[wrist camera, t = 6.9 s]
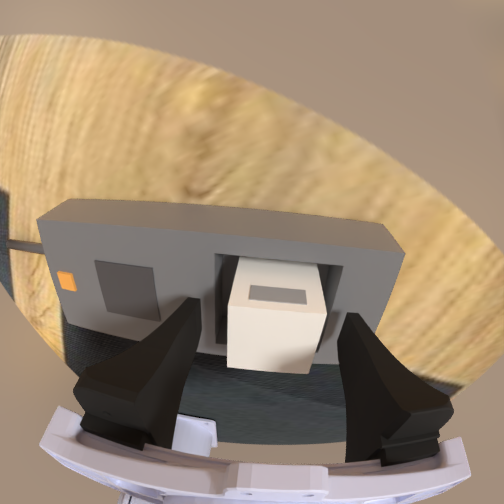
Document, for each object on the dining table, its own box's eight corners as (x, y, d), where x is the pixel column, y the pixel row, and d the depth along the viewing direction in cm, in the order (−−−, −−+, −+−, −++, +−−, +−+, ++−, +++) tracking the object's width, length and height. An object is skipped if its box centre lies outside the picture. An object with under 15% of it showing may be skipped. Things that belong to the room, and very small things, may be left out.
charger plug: (238, 304, 18) (227, 366, 13) (242, 246, 16) (228, 304, 11) (303, 310, 18) (308, 373, 13) (315, 253, 16) (327, 313, 11)
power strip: (22, 279, 20) (0, 301, 17) (1, 199, 17) (-29, 216, 13) (350, 327, 19) (360, 366, 16) (383, 224, 15) (406, 255, 12)
